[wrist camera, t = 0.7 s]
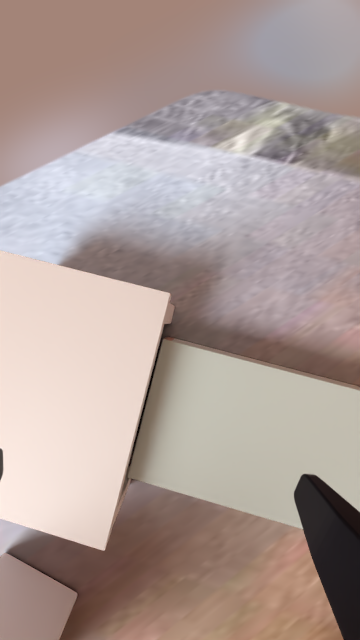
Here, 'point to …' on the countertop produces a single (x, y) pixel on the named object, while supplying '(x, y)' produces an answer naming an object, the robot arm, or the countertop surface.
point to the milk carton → (31, 602)
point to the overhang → (71, 393)
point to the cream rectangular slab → (246, 431)
